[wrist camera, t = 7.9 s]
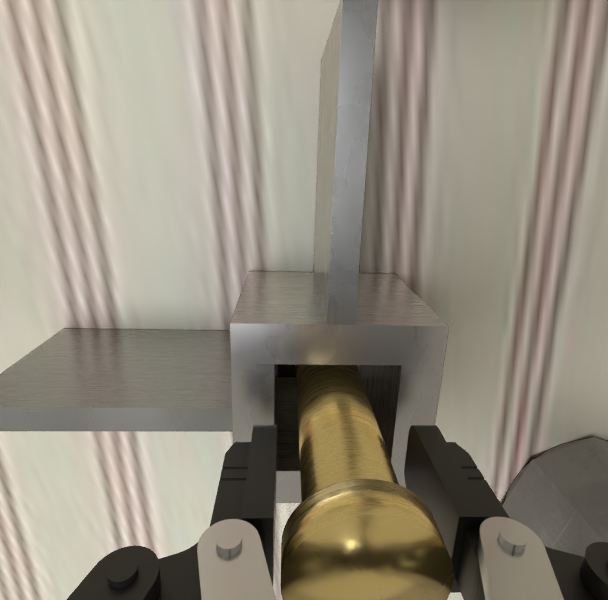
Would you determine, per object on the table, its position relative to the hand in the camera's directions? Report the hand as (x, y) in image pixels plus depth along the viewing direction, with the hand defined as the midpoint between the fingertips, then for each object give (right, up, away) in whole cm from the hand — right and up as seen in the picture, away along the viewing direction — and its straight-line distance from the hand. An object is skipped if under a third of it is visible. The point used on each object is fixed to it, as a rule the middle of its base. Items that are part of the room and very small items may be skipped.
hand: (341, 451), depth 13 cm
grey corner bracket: (-5, +7, +7) cm, 11 cm away
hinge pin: (0, +3, +8) cm, 9 cm away
